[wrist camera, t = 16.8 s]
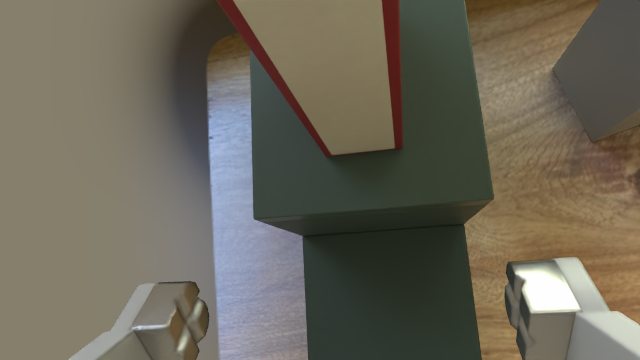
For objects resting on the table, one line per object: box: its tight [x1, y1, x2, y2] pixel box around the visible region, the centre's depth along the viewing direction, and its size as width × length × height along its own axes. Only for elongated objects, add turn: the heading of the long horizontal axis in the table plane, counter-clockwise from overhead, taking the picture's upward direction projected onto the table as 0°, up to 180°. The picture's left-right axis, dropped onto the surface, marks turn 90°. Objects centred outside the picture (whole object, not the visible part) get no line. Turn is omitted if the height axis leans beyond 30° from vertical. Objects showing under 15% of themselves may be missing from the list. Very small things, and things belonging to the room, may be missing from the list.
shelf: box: [250, 0, 494, 360], centre depth 28 cm, size 12×25×14 cm, turn 3°
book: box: [217, 0, 403, 157], centre depth 16 cm, size 4×8×14 cm, turn 3°
